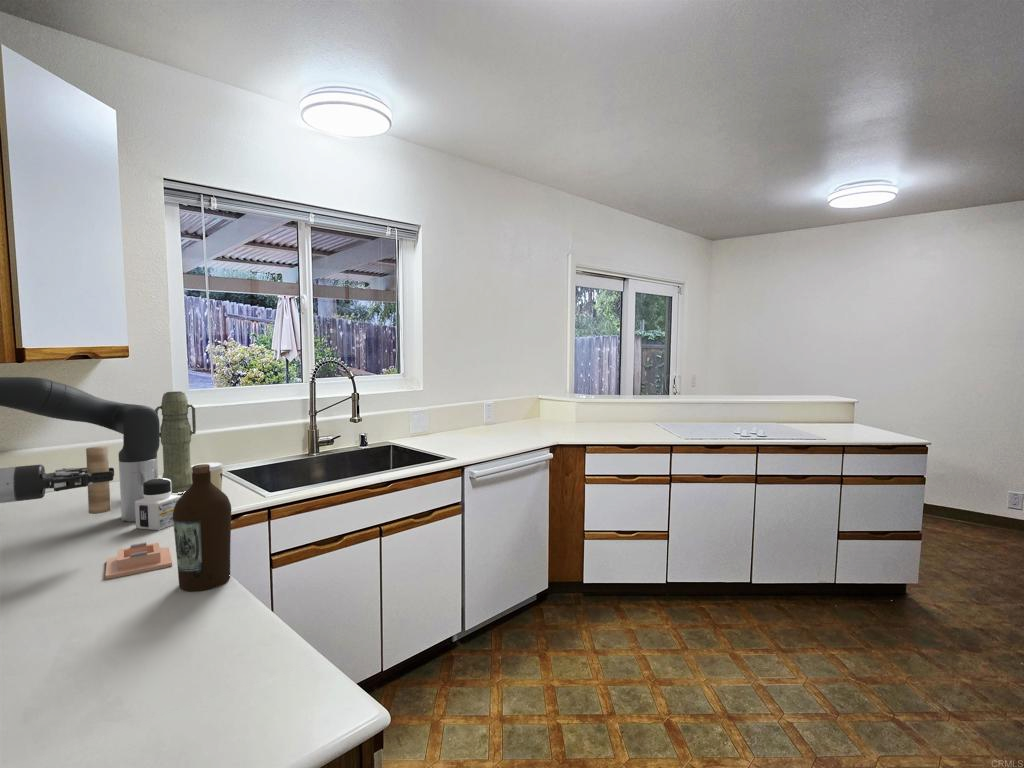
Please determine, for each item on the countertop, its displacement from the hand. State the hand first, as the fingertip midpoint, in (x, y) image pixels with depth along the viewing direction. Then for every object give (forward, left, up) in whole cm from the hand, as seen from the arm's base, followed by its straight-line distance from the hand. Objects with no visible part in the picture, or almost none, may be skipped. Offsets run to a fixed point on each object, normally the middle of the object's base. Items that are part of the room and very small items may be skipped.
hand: (113, 473), depth 124 cm
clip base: (+9, +4, -20) cm, 22 cm away
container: (-21, +9, -20) cm, 31 cm away
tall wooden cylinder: (0, -3, -8) cm, 9 cm away
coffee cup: (-40, +23, -20) cm, 51 cm away
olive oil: (+29, +15, -20) cm, 38 cm away
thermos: (-59, +16, -20) cm, 65 cm away
